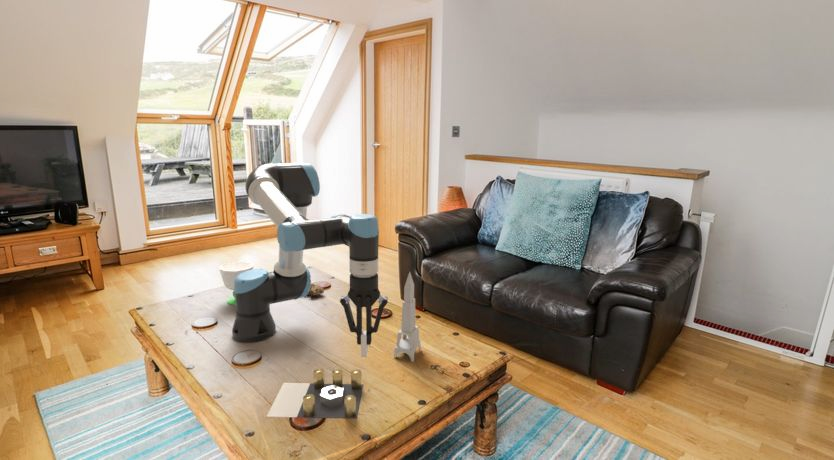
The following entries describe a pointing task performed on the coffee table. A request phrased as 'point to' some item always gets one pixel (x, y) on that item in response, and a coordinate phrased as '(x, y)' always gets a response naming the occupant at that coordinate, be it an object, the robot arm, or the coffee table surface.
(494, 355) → the coffee table surface
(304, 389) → the mat
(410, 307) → the sculpture
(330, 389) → the nut
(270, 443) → the coffee table surface
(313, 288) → the sculpture
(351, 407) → the spacers
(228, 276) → the cup
